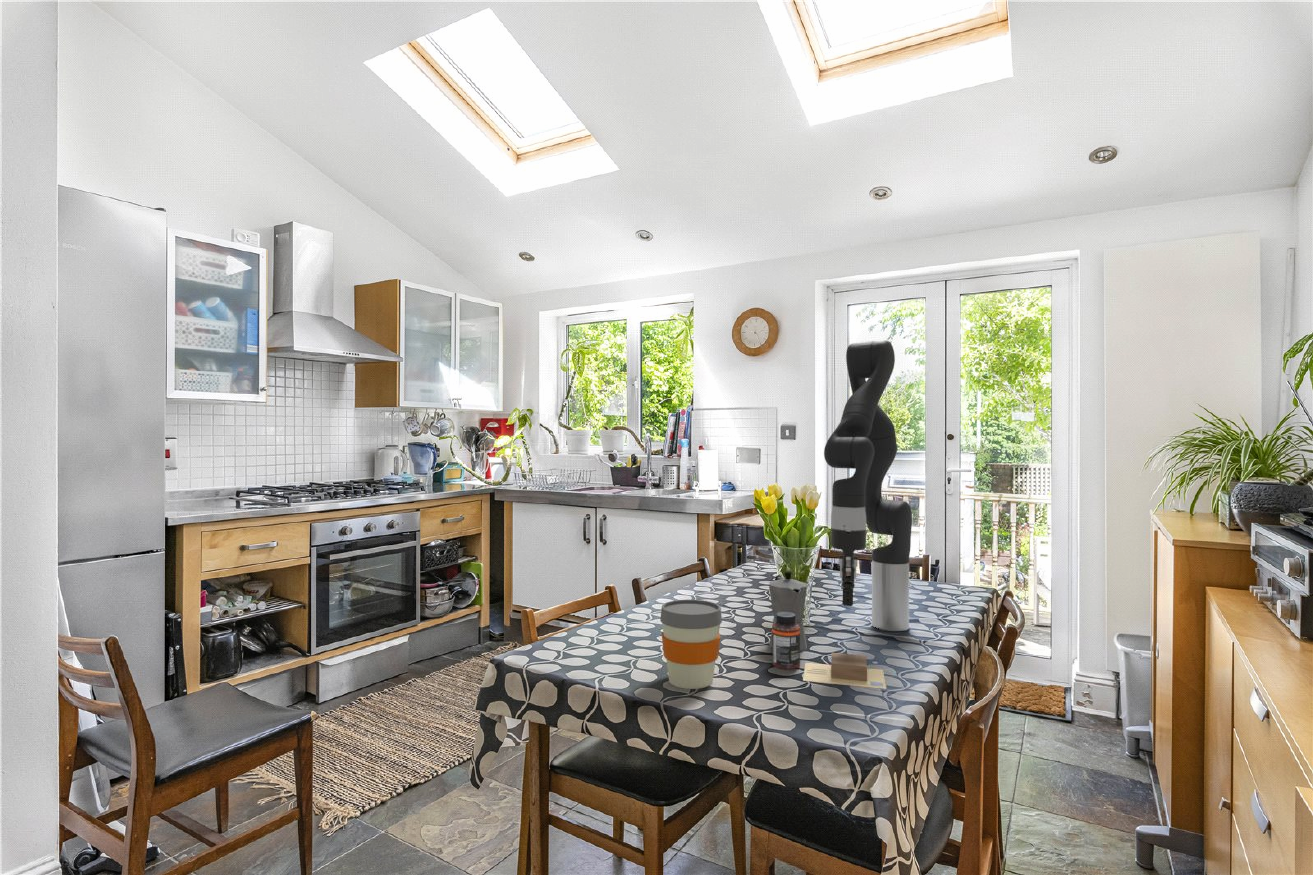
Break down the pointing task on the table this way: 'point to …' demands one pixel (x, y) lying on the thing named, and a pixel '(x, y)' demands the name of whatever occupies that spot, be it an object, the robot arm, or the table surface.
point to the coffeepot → (789, 601)
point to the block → (848, 667)
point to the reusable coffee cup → (691, 641)
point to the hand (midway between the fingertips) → (847, 605)
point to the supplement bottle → (786, 641)
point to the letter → (824, 676)
